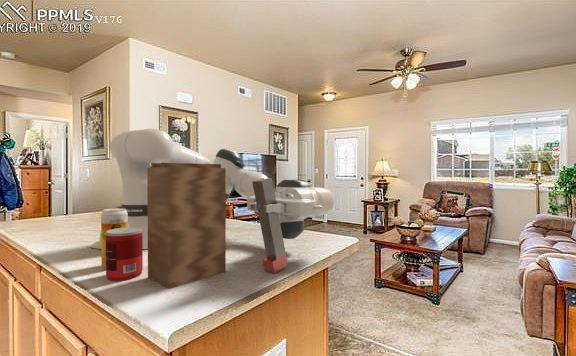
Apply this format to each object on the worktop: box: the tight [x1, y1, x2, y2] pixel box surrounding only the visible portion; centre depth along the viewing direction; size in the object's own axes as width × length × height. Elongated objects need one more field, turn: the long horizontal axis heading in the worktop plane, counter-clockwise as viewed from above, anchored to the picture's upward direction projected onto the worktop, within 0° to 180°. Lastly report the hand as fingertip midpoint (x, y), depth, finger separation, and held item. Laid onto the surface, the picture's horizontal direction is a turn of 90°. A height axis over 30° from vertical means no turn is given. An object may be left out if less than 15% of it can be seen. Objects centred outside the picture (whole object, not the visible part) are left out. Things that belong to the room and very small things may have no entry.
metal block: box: [252, 177, 289, 274], centre depth 76 cm, size 23×4×5 cm
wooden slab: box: [147, 163, 227, 289], centre depth 74 cm, size 15×10×27 cm, turn 138°
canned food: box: [105, 227, 144, 282], centre depth 73 cm, size 8×8×11 cm
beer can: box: [100, 208, 128, 269], centre depth 81 cm, size 6×6×15 cm
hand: (257, 207), depth 74 cm, fingers closed on metal block, 4 cm apart
